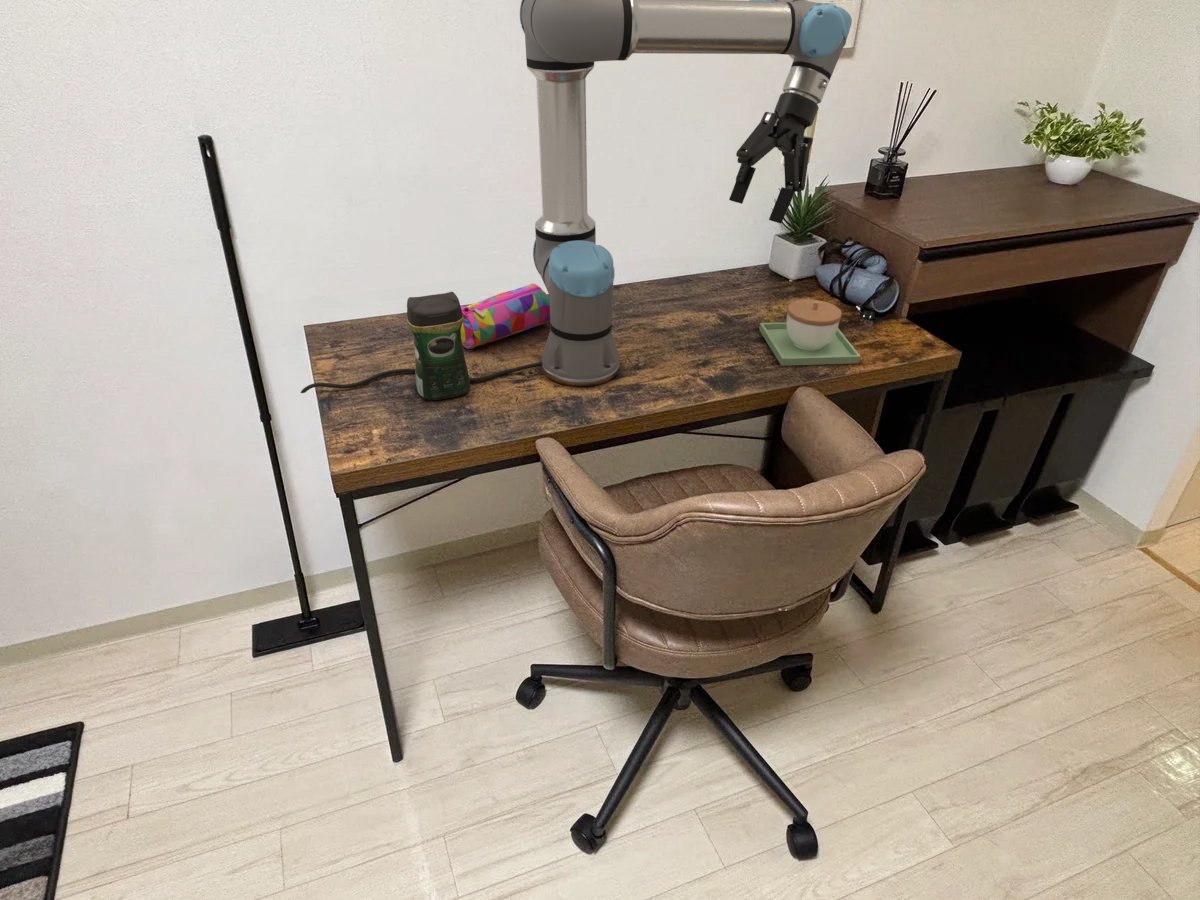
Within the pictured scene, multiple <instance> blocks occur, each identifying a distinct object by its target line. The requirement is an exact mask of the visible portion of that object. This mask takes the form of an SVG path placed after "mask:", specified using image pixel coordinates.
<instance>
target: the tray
mask: <svg viewBox="0 0 1200 900" xmlns="http://www.w3.org/2000/svg"><path fill="white" fill-rule="evenodd" d="M758 330H759V332H760V334H761V335H762V338H764V340H765V342H766V343H767V345H768V347H769V349H770V350H771V352H772V353H773V355H774V356H775V358H776V360H777V361H778V363H779V365H780V366H781V367H782V366H783V367H785V366H786V367H787V366H814V365H817V366H819V365H850V364H860V363H861V358H862V356H861V354H860V353H859V352H858V351H857V349H856V348H855V347H854V346H853V344H851V342H850V341H849V339H848V338H847V337H846V336H845V334H844V333H843V332H842V331H841V329H840V328H838V329H837V332H836V334H835V336H834V337H833V339H832V340H831V341H830V342H829V343H828V344H827V345H825V346H823V347H822V348H821V349H820V350H816V351H807V350H803V349H800V348H798V347H796V346H795V345H794V344H793V342H792V340H791V339H790V338H789V336H788V333H787V329H786V321H784V322H760V323H759V328H758Z"/></svg>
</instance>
